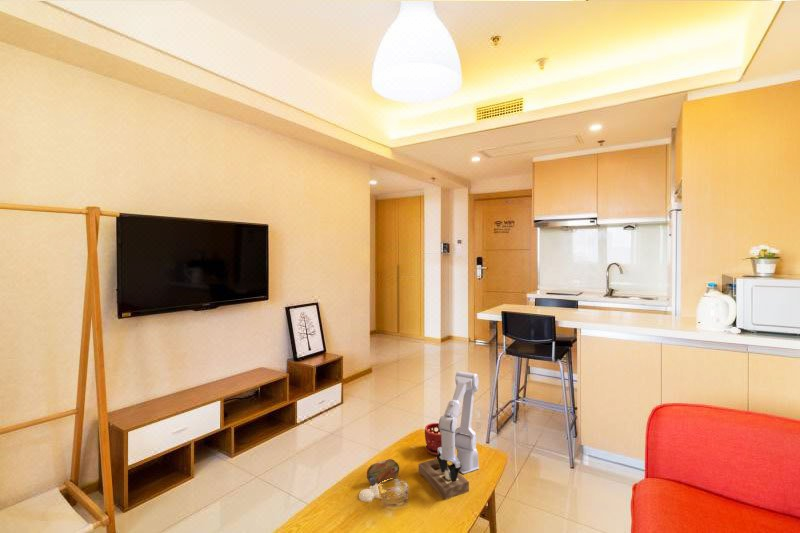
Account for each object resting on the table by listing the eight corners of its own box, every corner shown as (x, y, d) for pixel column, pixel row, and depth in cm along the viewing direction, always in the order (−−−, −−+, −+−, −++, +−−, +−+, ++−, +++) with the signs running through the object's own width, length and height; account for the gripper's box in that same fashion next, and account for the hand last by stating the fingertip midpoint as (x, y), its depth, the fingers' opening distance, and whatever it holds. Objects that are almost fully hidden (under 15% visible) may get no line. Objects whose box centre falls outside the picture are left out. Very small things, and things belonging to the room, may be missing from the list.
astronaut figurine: (389, 496, 155) (389, 489, 155) (362, 505, 149) (362, 497, 149) (381, 485, 163) (381, 478, 163) (355, 493, 157) (355, 486, 157)
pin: (449, 483, 161) (449, 467, 161) (454, 487, 158) (453, 471, 158) (443, 485, 160) (443, 469, 160) (447, 489, 157) (447, 473, 157)
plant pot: (432, 460, 181) (431, 435, 181) (420, 447, 193) (420, 424, 193) (455, 454, 186) (455, 430, 186) (443, 442, 198) (442, 420, 198)
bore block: (440, 465, 176) (440, 456, 176) (468, 491, 156) (468, 481, 156) (418, 472, 171) (418, 463, 171) (444, 499, 151) (444, 489, 151)
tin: (368, 487, 160) (368, 468, 160) (365, 483, 163) (365, 464, 163) (399, 477, 167) (399, 459, 167) (396, 474, 170) (396, 456, 170)
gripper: (431, 439, 164) (432, 470, 164) (450, 454, 151) (450, 488, 151) (444, 436, 167) (445, 466, 167) (464, 450, 154) (464, 483, 154)
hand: (448, 476), depth 159 cm, fingers open, 7 cm apart
